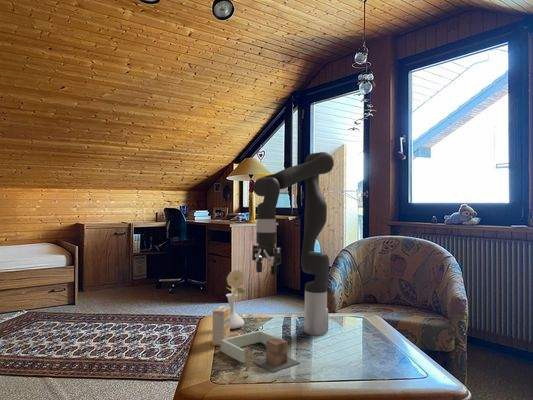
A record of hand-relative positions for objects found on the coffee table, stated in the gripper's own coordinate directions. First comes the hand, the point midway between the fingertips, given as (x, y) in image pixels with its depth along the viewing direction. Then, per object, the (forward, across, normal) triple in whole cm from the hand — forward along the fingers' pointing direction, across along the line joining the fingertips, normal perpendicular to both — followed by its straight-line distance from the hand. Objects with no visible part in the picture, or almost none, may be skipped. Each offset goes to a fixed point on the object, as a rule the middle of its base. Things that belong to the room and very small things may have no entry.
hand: (266, 273), depth 150 cm
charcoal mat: (+27, -15, +8) cm, 32 cm away
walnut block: (+26, -15, +8) cm, 31 cm away
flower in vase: (+27, +26, -3) cm, 38 cm away
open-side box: (+27, -1, +8) cm, 28 cm away
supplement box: (+27, +13, +11) cm, 32 cm away
